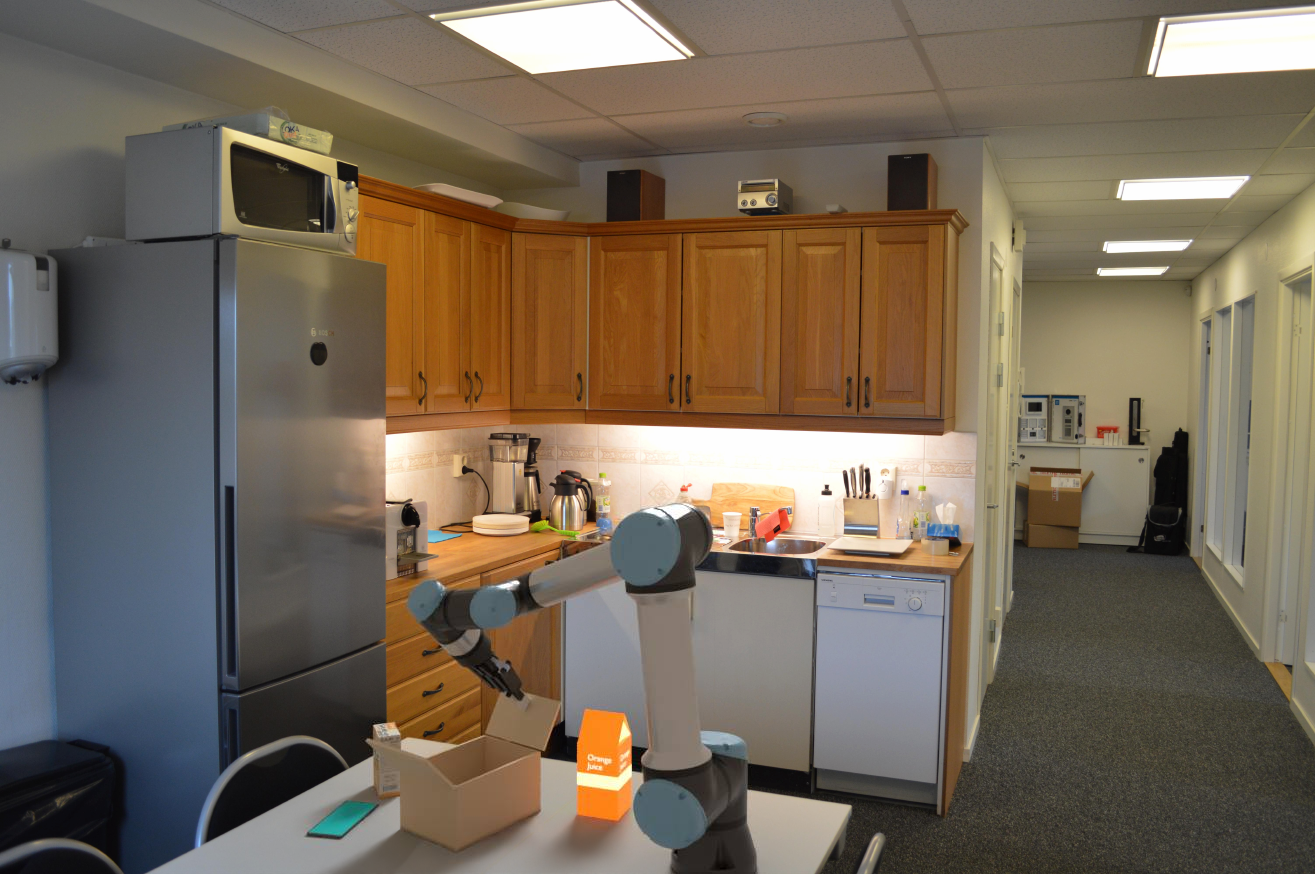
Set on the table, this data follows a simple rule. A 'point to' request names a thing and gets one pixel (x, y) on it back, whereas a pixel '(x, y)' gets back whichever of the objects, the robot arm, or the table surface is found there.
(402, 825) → the carton
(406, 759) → the left flap
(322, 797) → the table surface
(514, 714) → the right flap
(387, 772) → the supplement box
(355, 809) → the smartphone
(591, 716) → the orange juice
